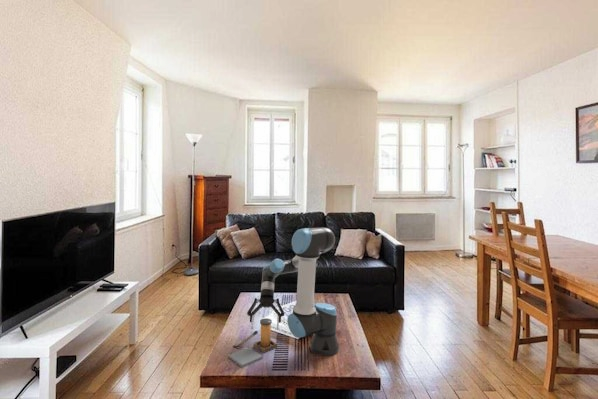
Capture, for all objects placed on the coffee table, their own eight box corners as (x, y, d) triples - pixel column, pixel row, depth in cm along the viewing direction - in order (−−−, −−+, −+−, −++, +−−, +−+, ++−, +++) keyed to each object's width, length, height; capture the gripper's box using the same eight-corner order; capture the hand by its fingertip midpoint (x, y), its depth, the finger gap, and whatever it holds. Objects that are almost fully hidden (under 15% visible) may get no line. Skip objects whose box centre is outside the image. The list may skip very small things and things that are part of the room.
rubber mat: (262, 358, 160) (262, 356, 160) (242, 367, 152) (242, 365, 152) (248, 349, 169) (248, 347, 169) (228, 357, 160) (228, 355, 160)
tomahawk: (242, 352, 167) (242, 350, 167) (232, 348, 170) (232, 346, 170) (265, 335, 186) (265, 333, 186) (255, 331, 189) (255, 329, 189)
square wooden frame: (277, 347, 171) (277, 343, 171) (264, 352, 165) (264, 349, 165) (266, 341, 178) (266, 337, 178) (253, 346, 172) (253, 343, 172)
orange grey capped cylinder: (273, 347, 171) (273, 321, 171) (264, 350, 167) (264, 324, 167) (266, 343, 176) (266, 317, 175) (257, 346, 172) (257, 320, 171)
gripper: (289, 294, 190) (288, 331, 176) (246, 293, 189) (242, 330, 175) (289, 288, 184) (288, 325, 170) (245, 287, 184) (240, 325, 170)
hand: (264, 328), depth 173 cm, fingers open, 13 cm apart
